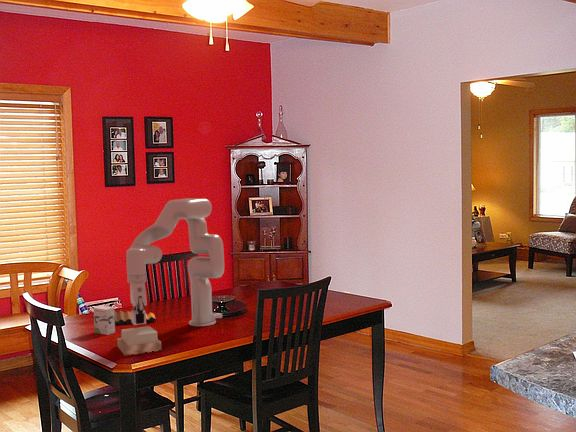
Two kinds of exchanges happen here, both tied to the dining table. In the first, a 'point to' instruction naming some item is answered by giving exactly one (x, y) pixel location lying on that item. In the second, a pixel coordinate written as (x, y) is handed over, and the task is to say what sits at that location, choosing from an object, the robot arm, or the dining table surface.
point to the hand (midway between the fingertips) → (138, 321)
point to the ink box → (104, 320)
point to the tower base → (138, 347)
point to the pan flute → (126, 317)
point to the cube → (133, 317)
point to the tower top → (139, 335)
